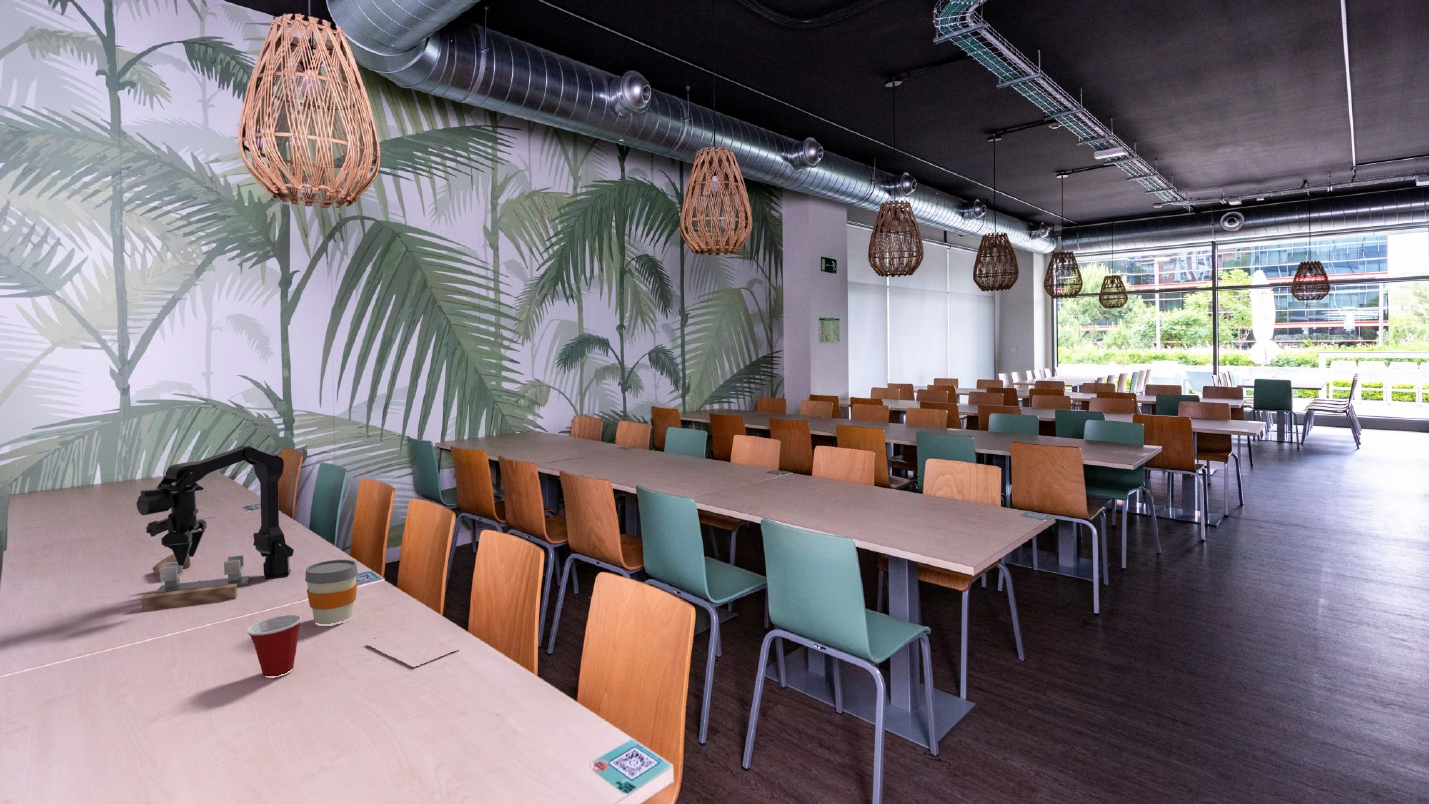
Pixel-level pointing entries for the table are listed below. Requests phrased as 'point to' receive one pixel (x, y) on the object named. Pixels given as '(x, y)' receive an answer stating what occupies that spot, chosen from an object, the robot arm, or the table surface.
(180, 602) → the rail
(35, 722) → the table surface
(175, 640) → the table surface
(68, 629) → the table surface
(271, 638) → the plastic cup
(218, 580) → the bracket stand
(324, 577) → the reusable coffee cup
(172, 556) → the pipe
